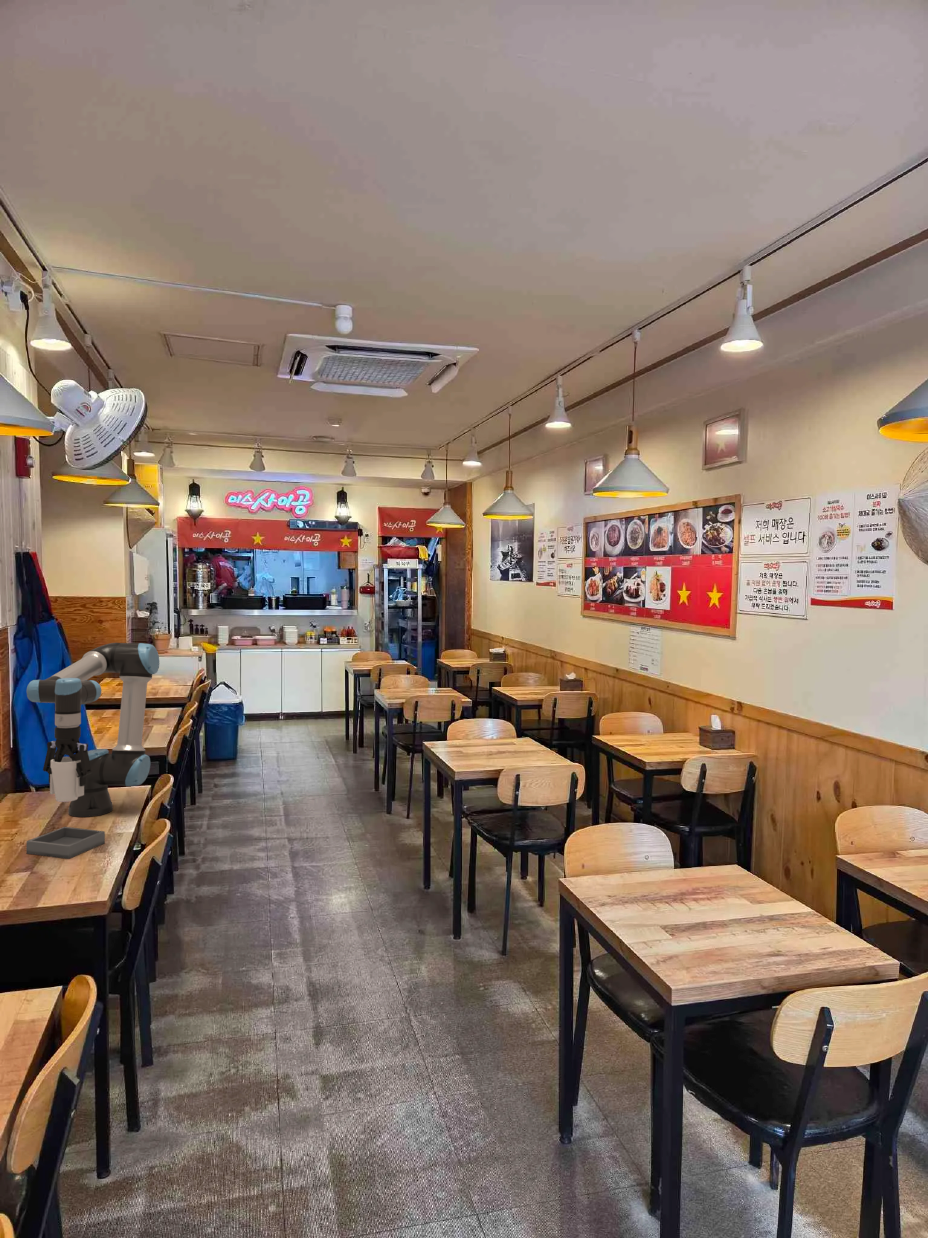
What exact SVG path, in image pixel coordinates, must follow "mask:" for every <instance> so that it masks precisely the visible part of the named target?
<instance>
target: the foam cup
mask: <svg viewBox="0 0 928 1238" xmlns="http://www.w3.org/2000/svg"><path fill="white" fill-rule="evenodd" d="M79 762H81V760H79V761H72V759H71V758H70V757H69V756H63V758H62V760H61V762H55V761H54V759H52V760H51V769H52V777H53V784H54V791H55V794H54V798H55V801H56V802H59V803H67V802H68V803H69V802H71V801H74V800H77V799H78V797H76V777H77V776H78V773H77V771H76V763H79Z"/></svg>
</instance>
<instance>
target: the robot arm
mask: <svg viewBox="0 0 928 1238" xmlns="http://www.w3.org/2000/svg"><path fill="white" fill-rule="evenodd" d="M159 668H160V655H159V653H158V649H157V647H155V646H154V645H153V644H151V643H143V642H110V643H107V644H106V643H105V644H103V645H100V646H98V647H96V648H93V649H90V650H89V651H87V652H85V653H84V654H83V656H82V658H81V659H79V660H77V661H76V662H74V663H72V664H70V665H69V666H67V667H65V668H63V669H62V670H60V671H58V672H56V673H55V674H53V675H51V676H50V677H47V678H45V679H33V680H30V682H29V683H28V684H27V687H26V697H27V700H29V701H30V702H32V703H40V704H42V703H45V704H48V703H49V704H54V709H55V710H54V725H55V727H54V739H55V740H52V741H48V742H47V743H46V745H47V746H46V747H47V749H46V750H47V751H46V755H45V759H44V763H43V767H42V768H43V769H42V771H43V772H46V773H47V774H48V784H49V795H55V791H54V784H53V777H52V769H51V760H52V759H54V761H55V762H61V760H62V758H63V757H65V756H68V757H70V758H71V759H72V761H79V760H81V762H79V763H76V771H77V773H78V776H77V777H76V797H78V799H77V800H74V801H70V802H69V805H68V811H67V812H68V815H69V816H72V817H76V818H77V817H78V818H80V817H81V818H83V817H84V818H87V817H88V818H89V817H97V816H102V815H107V814H109V813H111V812H112V811H113V809H114V807H113V805H114V803H113V802H112V799H111V796H110V792H109V790H108V789H109V786H124V787H125V786H126V787H132V786H133V787H134V786H135V787H136V786H140V785H142V784H143V783H144V782H145V781H146V779H147V778H148V776H149V773H150V769H151V758H150V756H149V755H147V754H146V749H145V747H143V735H144V734H143V733H144V723H145V722H144V721H145V711H146V700H147V691H148V683H149V682H150V681H152V679H153V675H155V674H157V673H158V671H159ZM107 673H115V674H116V673H117V674H119V677H118V678H119V679H120V680H121V681H122V691H121V703H120V713H119V721H118V723H119V724H118V725H119V726H118V733H117V744H116V745H115V746H114V747H113V748H112V749H111V753H109V750H108V749H107V748H99V749H98V748H97V749H91V750H88V749H89V744H88V743H81V742H80V737H81V734H82V731H81V729H82V726H80V725H81V724H82V713H81V711H82V705H85V704H91V703H93V702H96V701H97V700H98V699H100V697H101V695H102V687H101V686H102V685H100V684H99V682H97V681H96V680H91V678H93V677H94V676H100V675H102V674H107ZM89 679H90V680H89Z"/></svg>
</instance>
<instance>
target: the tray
mask: <svg viewBox="0 0 928 1238" xmlns="http://www.w3.org/2000/svg"><path fill="white" fill-rule="evenodd" d="M105 834H106V831H103V830H95V829H88V828H80V827H78V828H77V827H70V826H63V827H61V828H58V829H55V830H52V831H49V832H47V833H44V834H42V835H39V836H36V837H33V838H31V839H28V840H26V845H25V846H26V852H25V853H26V854H28V855H35V856H36V855H37V856H43V857H49V858H51V857H52V858H59V859H65V860H70V859H72V858H74V857H77V856H79V855H81V854H83V853H86V852H88V851H90V850H93V849H95V848H98V847H100V846H102V845H104V844H105V842H106V841H105V839H106V838H105V837H106V835H105Z"/></svg>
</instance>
